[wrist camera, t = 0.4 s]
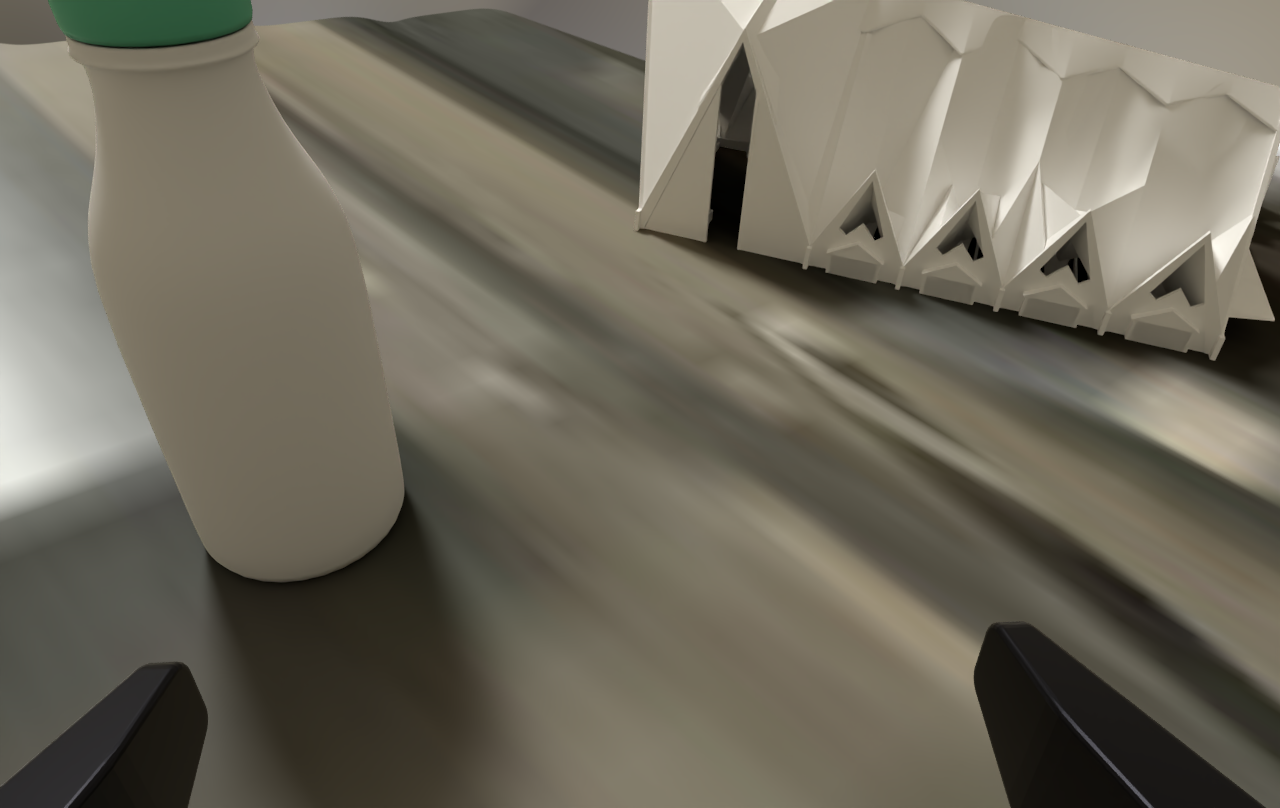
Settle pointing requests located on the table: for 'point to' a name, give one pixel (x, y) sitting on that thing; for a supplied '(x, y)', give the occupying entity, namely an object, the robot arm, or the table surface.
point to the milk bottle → (233, 291)
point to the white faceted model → (967, 158)
